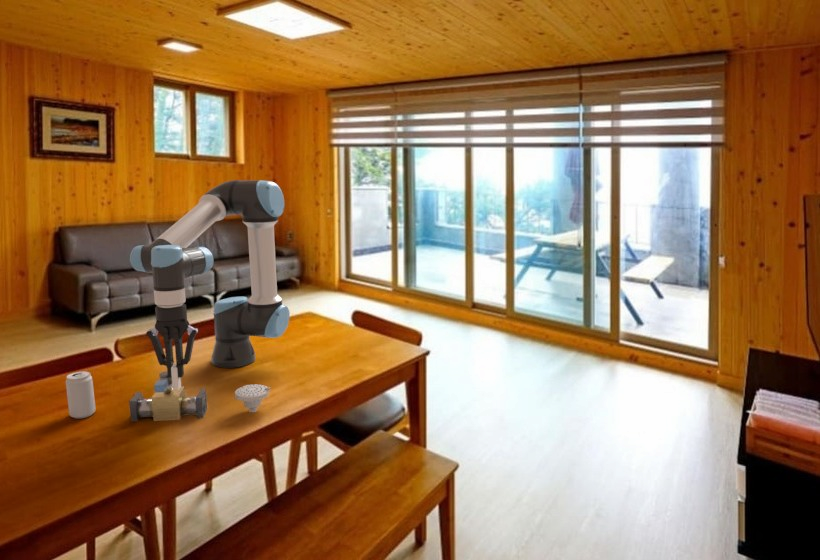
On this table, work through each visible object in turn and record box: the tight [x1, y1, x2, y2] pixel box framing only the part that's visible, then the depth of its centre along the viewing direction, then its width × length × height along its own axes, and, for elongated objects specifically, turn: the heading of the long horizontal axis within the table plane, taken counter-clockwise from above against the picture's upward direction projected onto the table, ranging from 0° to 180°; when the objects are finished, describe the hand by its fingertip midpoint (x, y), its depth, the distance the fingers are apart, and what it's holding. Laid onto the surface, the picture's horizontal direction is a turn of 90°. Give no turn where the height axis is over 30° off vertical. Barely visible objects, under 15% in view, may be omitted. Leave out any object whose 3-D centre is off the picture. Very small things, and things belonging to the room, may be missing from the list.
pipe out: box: [128, 391, 153, 423], centre depth 154 cm, size 6×6×6 cm
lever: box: [154, 370, 172, 393], centre depth 151 cm, size 10×4×2 cm, turn 9°
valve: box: [151, 384, 186, 422], centre depth 155 cm, size 7×7×10 cm
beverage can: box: [65, 371, 97, 420], centre depth 154 cm, size 6×6×12 cm
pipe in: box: [180, 388, 208, 419], centre depth 157 cm, size 6×6×6 cm
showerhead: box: [234, 383, 271, 413], centre depth 159 cm, size 9×7×10 cm
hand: (176, 388), depth 150 cm, fingers closed
